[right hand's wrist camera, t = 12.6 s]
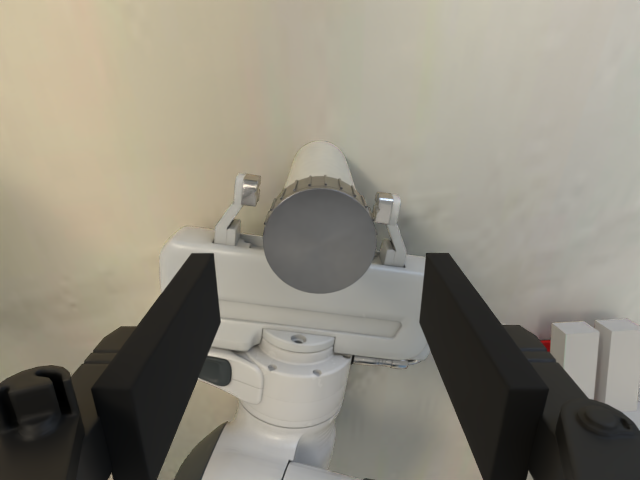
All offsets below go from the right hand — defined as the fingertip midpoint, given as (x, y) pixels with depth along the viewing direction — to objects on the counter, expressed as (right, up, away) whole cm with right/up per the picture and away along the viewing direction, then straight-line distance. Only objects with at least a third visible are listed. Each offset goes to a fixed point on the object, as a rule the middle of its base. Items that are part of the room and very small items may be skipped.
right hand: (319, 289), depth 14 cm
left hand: (0, +5, +13) cm, 14 cm away
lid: (0, +2, +4) cm, 5 cm away
